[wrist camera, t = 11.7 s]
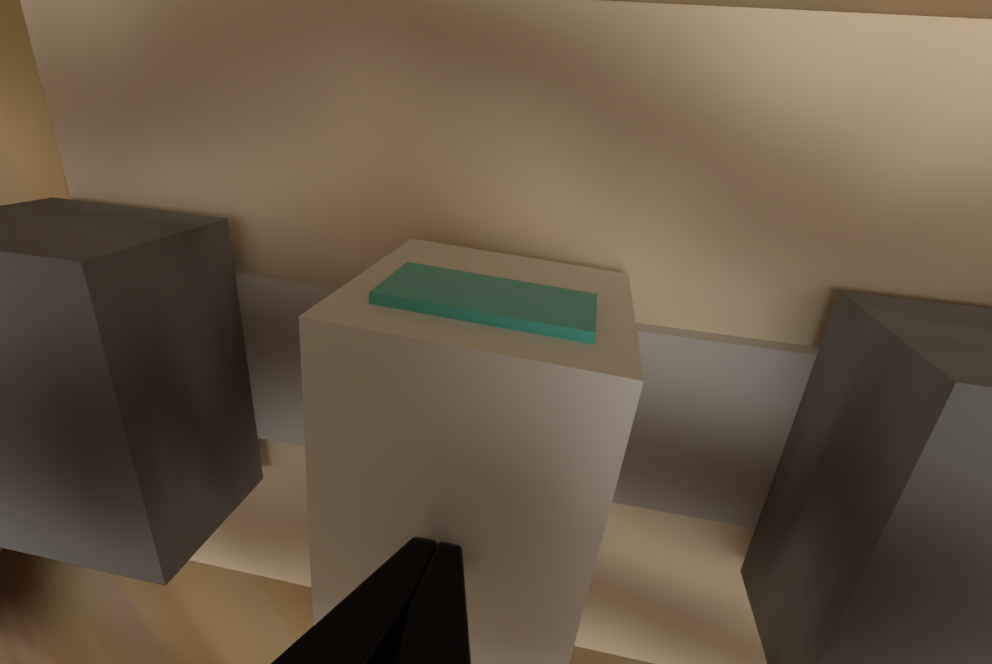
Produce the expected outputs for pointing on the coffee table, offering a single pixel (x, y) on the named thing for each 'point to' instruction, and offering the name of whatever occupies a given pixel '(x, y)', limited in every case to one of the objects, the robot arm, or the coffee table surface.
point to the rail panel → (540, 235)
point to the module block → (471, 432)
